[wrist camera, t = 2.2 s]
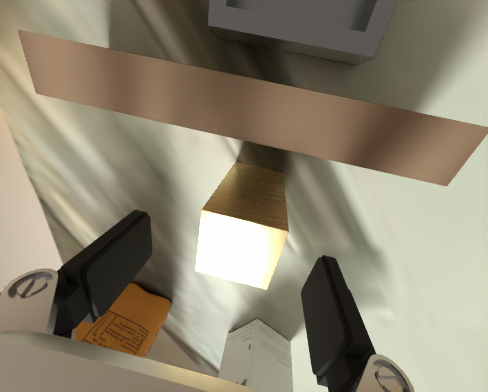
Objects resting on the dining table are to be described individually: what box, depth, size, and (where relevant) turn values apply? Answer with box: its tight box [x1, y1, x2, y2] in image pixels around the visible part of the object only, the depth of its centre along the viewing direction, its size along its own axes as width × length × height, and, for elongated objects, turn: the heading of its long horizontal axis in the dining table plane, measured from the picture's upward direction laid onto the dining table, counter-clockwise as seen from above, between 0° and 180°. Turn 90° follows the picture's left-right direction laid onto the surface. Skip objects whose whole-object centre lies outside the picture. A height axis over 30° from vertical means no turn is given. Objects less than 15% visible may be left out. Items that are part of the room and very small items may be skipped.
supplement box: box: [218, 319, 293, 392], centre depth 24 cm, size 7×7×13 cm
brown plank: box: [18, 30, 488, 186], centre depth 13 cm, size 24×3×6 cm, turn 80°
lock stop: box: [196, 162, 289, 290], centre depth 14 cm, size 4×4×9 cm
